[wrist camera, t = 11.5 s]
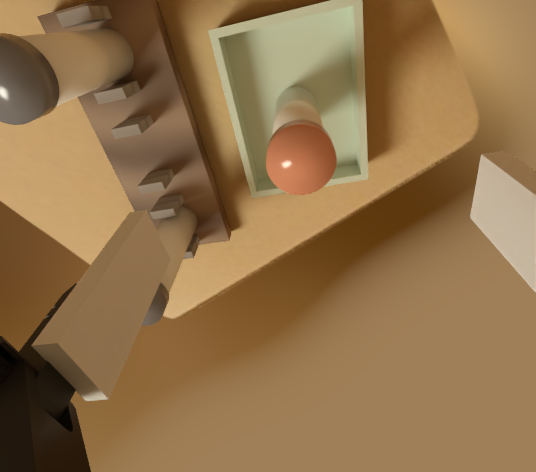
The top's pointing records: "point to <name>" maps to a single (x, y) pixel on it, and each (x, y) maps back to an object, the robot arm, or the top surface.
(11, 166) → the top surface
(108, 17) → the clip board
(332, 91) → the tray
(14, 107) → the fuse
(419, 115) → the top surface
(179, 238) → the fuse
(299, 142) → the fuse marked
